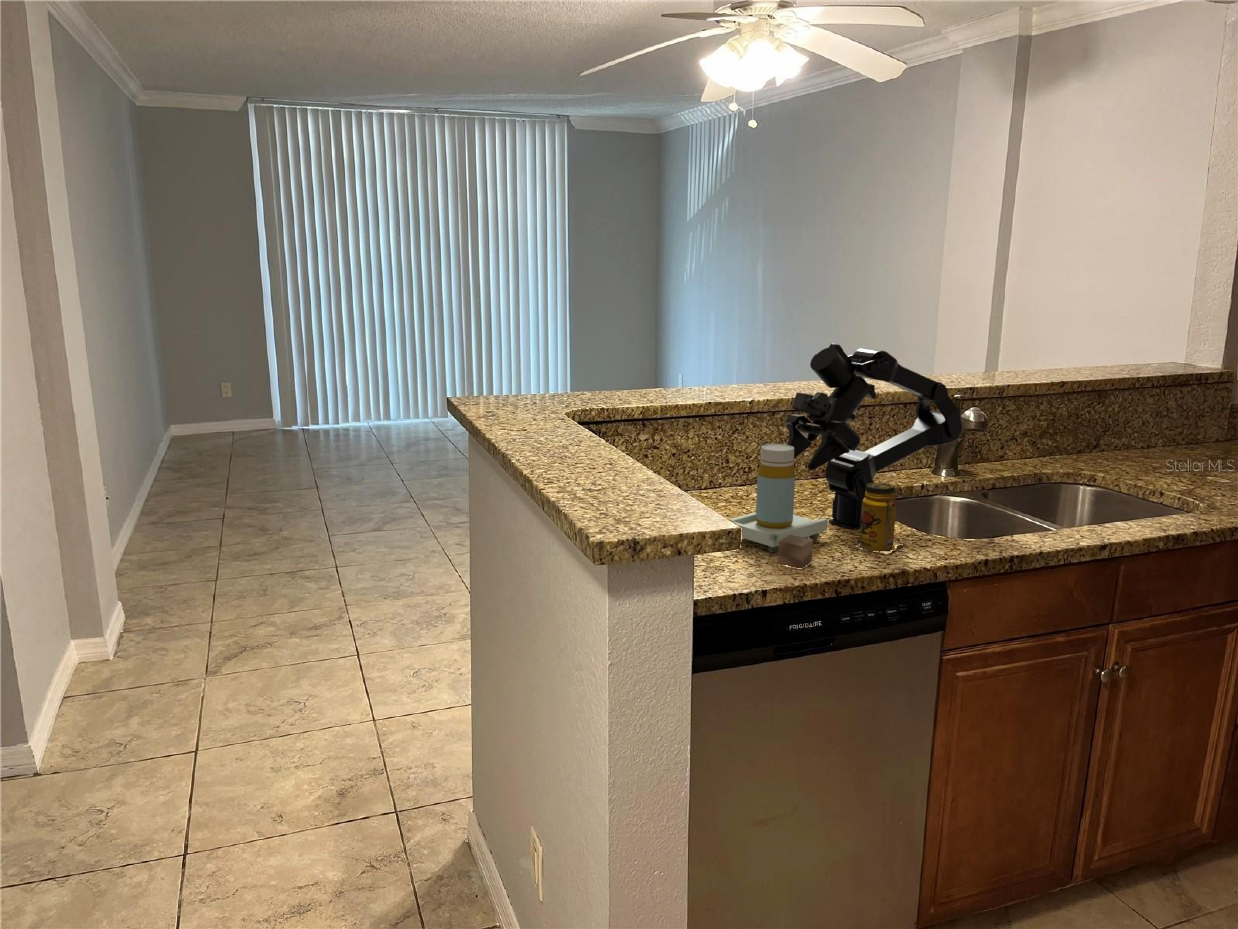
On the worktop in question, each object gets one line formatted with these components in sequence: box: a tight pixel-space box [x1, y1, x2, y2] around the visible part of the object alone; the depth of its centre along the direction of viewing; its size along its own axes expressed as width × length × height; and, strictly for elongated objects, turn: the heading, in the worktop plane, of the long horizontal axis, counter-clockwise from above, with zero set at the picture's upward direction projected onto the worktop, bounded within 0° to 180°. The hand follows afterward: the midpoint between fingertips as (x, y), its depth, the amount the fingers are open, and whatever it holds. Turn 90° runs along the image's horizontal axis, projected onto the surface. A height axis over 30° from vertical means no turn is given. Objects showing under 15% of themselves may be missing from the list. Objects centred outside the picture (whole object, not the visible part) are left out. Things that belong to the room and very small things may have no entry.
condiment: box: [852, 482, 907, 556], centre depth 172 cm, size 7×8×12 cm
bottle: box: [755, 443, 796, 529], centre depth 175 cm, size 7×7×15 cm
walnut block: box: [777, 535, 814, 568], centre depth 163 cm, size 4×4×4 cm
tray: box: [728, 511, 829, 554], centre depth 176 cm, size 12×16×4 cm
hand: (796, 465), depth 178 cm, fingers open, 9 cm apart
